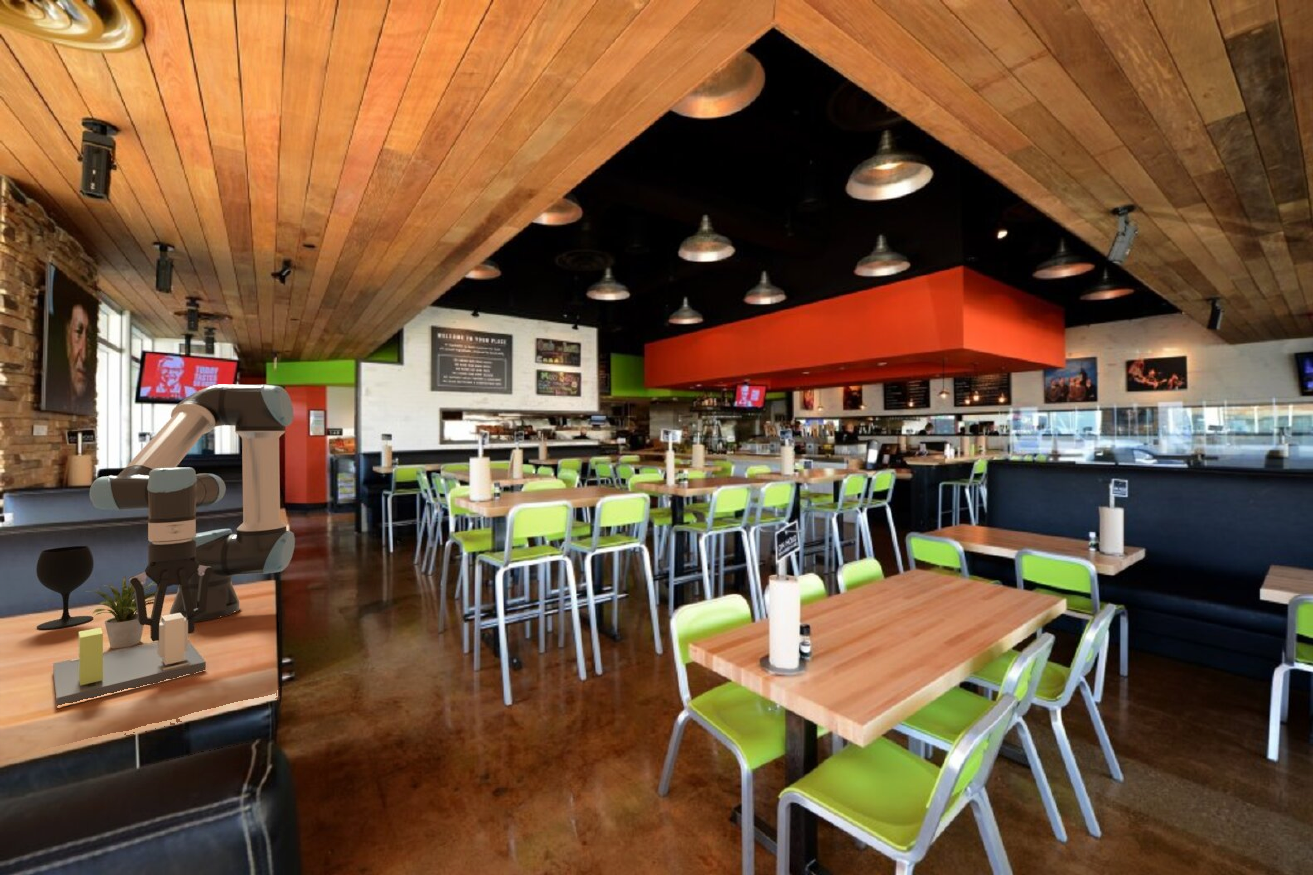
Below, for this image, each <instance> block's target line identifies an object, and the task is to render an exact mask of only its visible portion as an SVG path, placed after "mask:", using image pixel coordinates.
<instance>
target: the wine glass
mask: <svg viewBox="0 0 1313 875" xmlns="http://www.w3.org/2000/svg"><path fill="white" fill-rule="evenodd" d="M94 564H95V563H94V556H93V553H92V550H91V549H90V546H89V545H72V546H64V547H56V548H55V547H54V548H50V549H44V550H42V551H41V552H40V554H39V557H38V558H37V563H36V570H35V571H36V576H37V579H38V581H39V582H40V584H41V585H43V586H44V587H45V588H47V589H49V590H51V591H53V592H56V593H58V594H60V596H61V597H62V598H61V599H62V614H61V617H60V618H57V619H53V620H49V621H46V622H43V623H40V624H38V625H37V626H36V630H38V629H39V631H51V630H52V631H53V630H60V629H66V628H71V627H75V626H80V625H84V624H87V623H89V622H91V621H93V620H94V616H92V615H77V616H71V614H70V612H69V601H70V600H69V599H70V596H71V593H72V592H73V591H74V590H77V589H78V588H80V587H81V586H82V585H84V583H86V582H87V580H88V579H89V578H90V577H91V575H92V573H93V570H94Z"/></svg>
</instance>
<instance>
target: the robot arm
mask: <svg viewBox="0 0 1313 875" xmlns="http://www.w3.org/2000/svg"><path fill="white" fill-rule="evenodd" d="M293 407H294V406H293V402H292V400H291V397H290V394H289V393H288V391H286V389H285V388H284V387H282V386H279V385H273V384H270V385H269V384H228V383H226V384H225V383H222V384H215V385H211V386H207V387H205V388H202V389H200V390H197V391H195V392H193V393H191V394H190V395H188V396H187V397H185V398H184V399H183V400H181V401H180V402H178V404H176V406H175V407H174V408H173V409H172V411H171V412H170V417H171V418H170V419H169V420H168V421H167V422H166V423H165V424H164V425H163V426H162V427H161V429H160V430H159V431H158V432H157V433H156V434H155V435H154V436H153V437H152V438H151V440H150V441H149V442H148V443H147V444H146V445H144V447H143V448H142V449H141V450H140V451H139V452H138V453H137V454H136V456H135V457H133V458H132V459H131V461H130V462H129V463H128V464H127V465H126V466H125V467H124V469H122V471H120V472H119V474H118V475H112V474H110V475H108V476H107V475H106V476H101V477H98V478H96V479H95V480H94V481H93V482H92V484H91V486H90V488H89V499H90V501H91V503H92V506H93V507H94V508H96V509H98V510H102V511H131V510H133V511H134V510H135V511H136V510H148V523H147V524H148V527H147V530H148V531H147V534H148V535H147V538H148V539H147V540H148V541H149V542H151V543H150V544H149V545H147V546H148V547H147V548H148V549H147V550H148V551H147V555H148V556H147V557H148V561H147V567H146V568H145V570H144V572H142V573H139V574H138V575H136V576H130V577H129V578H128V582H129V583H130V584H132V586H133V587H134V591H135V592H134V595H135V599H136V607H137V610H136V611H137V612H136V614H137V615H138V621H139V623H140V624H141V625H144V626H150V628H149V629H150V630H149V631H150V632H149V633H150V639H151V641H152V642H157V641H158V656H159V657H163V656H164V624H163V622H161V616H162V612H163V607H164V602H165V598H166V597H165V596H166V592H167V591H166V590H167V589H168V588H169V587H171V586H177V592H176V595H175V598H174V600H173V603H172V605H171V608H170V610H169V614H168V615H170V614H175V613H181V614H182V615H183V616H184V652H185V651H188V641H189V634H194V632H195V623H198V622H197V621H200V622H206V621H211V620H216V619H219V618H218V617H220V616H224V617H227V616H230V615H232V614H231V613H233V612H234V611H237V612H238V611H239V610H240V599H239V598H238V595H237V593H236V590H235V588H234V586H233V583H232V582H233V580H232V577H233V576H243V575H244V576H245V575H257V574H262V575H263V574H264V575H268V574H272V573H279V572H280V573H281V572H283V571H284V570H285V569H286V568H287V567H289V564H290V562H291V560H292V558H293V554H294V551H295V546H296V545H295V544H296V537H295V533H294V532H292V531H291V530H287V523H285V522H284V521H283V520H282V519H281V498H280V497H281V490H280V482H281V481H280V476H281V475H280V437H281V436H282V435H284V434H285V433H286V427H289V426H290V425H292V423H293V421H294V419H293V418H294V408H293ZM220 426H233V427H234V428H235V430H234V432H235V434H237V435H238V436H240V438H241V445H242V446H241V447H242V448H241V449H242V452H241V453H242V455H241V456H242V507H243V508H242V512H243V514H242V521H243V522H242V523H241V524H240V525H239V526H238V527H237V528H236V533H233V531H232V529H231V528H221V529H215V530H214V529H213V530H209V531H203V532H197V531H196V530H197V529H196V528H197V527H196V526H197V524H196V523H197V522H196V521H197V520H196V518H197V516H196V514H197V512H196V511H197V508H202V507H205V508H207V507H209V506H211V505H213V504H216V503H218V502H219V501H221V500H222V499H223V497H224V496H225V494H226V489H227V488H226V486H227V485H226V484H225V481H224V480H223V479H222V478H221V477H220V476H219V475H216V474H214V473H205V472H204V473H200V472H199V473H197V474H196V470H195V468H193V467H190V466H189V467H188V466H187V467H182V466H181V467H179V466H178V465H180V463H181V462H182V460H183V459H184V458H185V457H186V456H187V454H188V453H189V452H190V451H191V449H192V448H194V446H195V445H196V443H197V442H198V441H199V440H200V438H202V436H203V435H205V434H208V433H210V432H211V431H213V429H214V428H215V427H220ZM147 578H149V579H150V580H151V581H152V582H154V583H155V584H156V587H155V592H156V594H155V595H154V598H153V599H154V600H153V602H154V604H153V605H152V610H151V614H150V617H148V613H147V605H146V603H147V602H146V603H145V601H146V600H145V595H146V594H145V591H144V588H145V587H144V585H145V584H146V583H147V582H146V579H147ZM135 599H134V600H135ZM229 614H230V615H229ZM233 614H234V613H233ZM226 615H227V616H226ZM215 618H216V619H215ZM220 618H221V617H220Z"/></svg>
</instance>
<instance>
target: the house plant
mask: <svg viewBox="0 0 1313 875" xmlns="http://www.w3.org/2000/svg"><path fill="white" fill-rule="evenodd" d="M154 583H155V582H154V581H152V582H150V583H149V584H148V585H146V586H145V587H143V588H144V592H145V591H146V590H151V589H152V587H151V586H153V584H154ZM101 586H103V587H104V586H105V587H108V588H110V590H111V593H112V594H113V597H114V600H115V601H114V600H113V598H112V597H111V596H110V594H108V593H107V592H106V591H104V590H103V589H101V588H97V587H96V588H95V589H97V590H99V591H97V590H91V592H93V593H96V594H97V595H99V596H100V597H102V598H103V599H105V601H102V602H100V603H99V605H103V606H106V607H108V608H110V609H105V608H97V609H95V610H94V611H92V612H93V613H92V614H94V613H96V614H95V616H98V615H101V614H105V613H108V614H112V616H114V617H111V618H107V619H105V621H104V625H105V626H104V627H105V630H106V634H107V639H108V641H109V646H110V647H109V648H111V649H124V648H129V647H133V646H134V645H135V646H136V645H137V644H140V643H141V640H142V636H143V631H144V627H145V625H141V624H140V623H139V621H138V615H137V607H136V599H135V591H134V587H133V586H132V584H131V583H130V584H129V586H128V587H127V575H125V576H124V577H123V580H122V584H121V586H122V587H121V593H120V592H119V591H118V589H117V588H115V587H114V586H112V585H110V584H108V585H106V584H105V585H104V584H102V585H101ZM154 586H157V584H156V583H155V584H154ZM100 591H101V592H100ZM168 591H169V590H166V592H168ZM85 592H90V590H87V591H84V593H85ZM155 594H156V591H153V592H150V593H149V592H148V593H146V594H145V603H146V606H147V605H152V604H154V599H155V598H153V599H149V598H151V597H153V596H155ZM147 599H148V600H147ZM102 611H103V612H102Z"/></svg>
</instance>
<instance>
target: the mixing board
mask: <svg viewBox="0 0 1313 875" xmlns="http://www.w3.org/2000/svg"><path fill="white" fill-rule="evenodd" d="M52 667H53V671H52V672H53V683H54V684H55V685H54V684H53V685H54V692H55V693H56V695H55V704H56V703H57V706H58V705H62V704H65V703H73V702H77V701H80V700H83V699H88V698H94V697H97V696H101V695H104V694H107V693H114V692H117V691H120V690H121V691H122V690H124V689H128V688H136V687H140V686H143V685H147V684H153V683H158V682H160V681H164V680H166V679H173V678H177V677H179V676H183V675H186V674H193V675H195V674H194V673H196V672H199V671H203V670H206V661H205V659H204V658H203V657H202V655H201V654H200V652H198V650H197V649H196V648H195V647H194V646H193V644H192V643H191V641H190V640H188V651H185V652H184V661H180V662H176V663H172V664H167V665H165V664H164V662H163V660H162V659H161V657H159V656H158V641H152V642H148V643H143V644H139V645H135V646H134V645H132V646H128V647H123V648H118V649H114V650H111V651H110V650H109V651H107V652H105V651H104V652H103V680H101V681H97V682H93V683H89V684H85V685H80V682H79V657H77V658H72V659H67V660H62V661H59V662H54V663H53V666H52ZM206 671H207V670H206ZM177 679H178V678H177ZM173 680H174V679H173ZM158 684H159V683H158ZM57 706H56V707H57Z"/></svg>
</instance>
